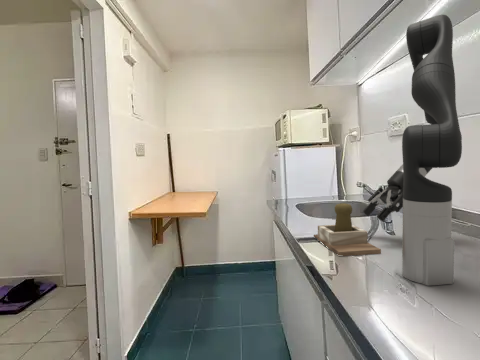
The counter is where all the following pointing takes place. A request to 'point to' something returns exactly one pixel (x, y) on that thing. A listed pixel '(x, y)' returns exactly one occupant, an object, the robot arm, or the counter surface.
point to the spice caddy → (346, 241)
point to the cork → (343, 217)
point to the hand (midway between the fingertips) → (372, 216)
